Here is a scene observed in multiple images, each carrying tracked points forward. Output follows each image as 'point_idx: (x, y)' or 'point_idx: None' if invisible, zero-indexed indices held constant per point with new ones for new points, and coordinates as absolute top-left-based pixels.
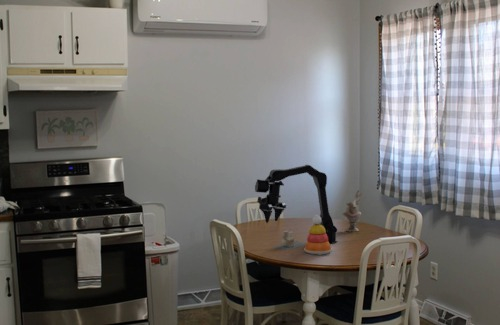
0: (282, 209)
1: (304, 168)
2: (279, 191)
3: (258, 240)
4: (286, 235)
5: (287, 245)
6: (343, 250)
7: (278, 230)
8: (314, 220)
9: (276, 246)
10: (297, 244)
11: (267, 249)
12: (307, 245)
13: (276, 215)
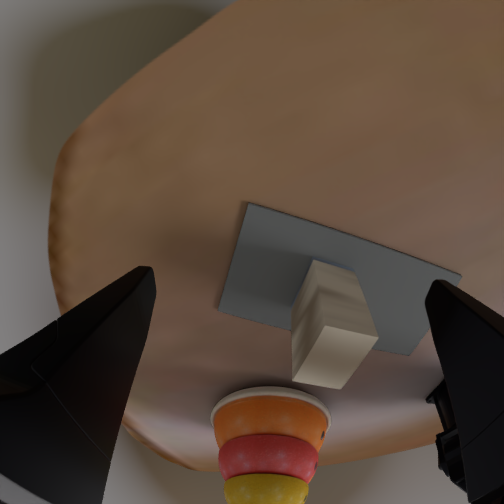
0: (473, 497)
1: None
2: None
3: (409, 20)
4: (303, 340)
5: (297, 300)
6: (337, 446)
7: None
8: None
9: (281, 225)
10: (384, 313)
11: (188, 199)
12: (223, 424)
13: (473, 357)
